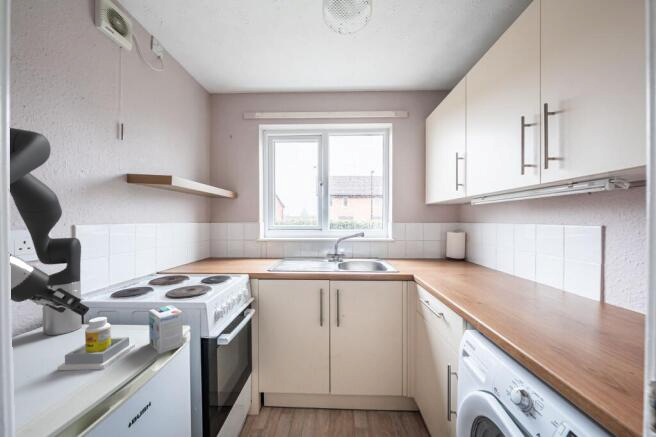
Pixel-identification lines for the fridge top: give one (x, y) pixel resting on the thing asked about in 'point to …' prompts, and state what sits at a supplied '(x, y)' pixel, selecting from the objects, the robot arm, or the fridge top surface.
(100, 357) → the grey tray
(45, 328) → the robot arm
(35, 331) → the fridge top surface
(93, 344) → the supplement bottle
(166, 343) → the light bulb box
